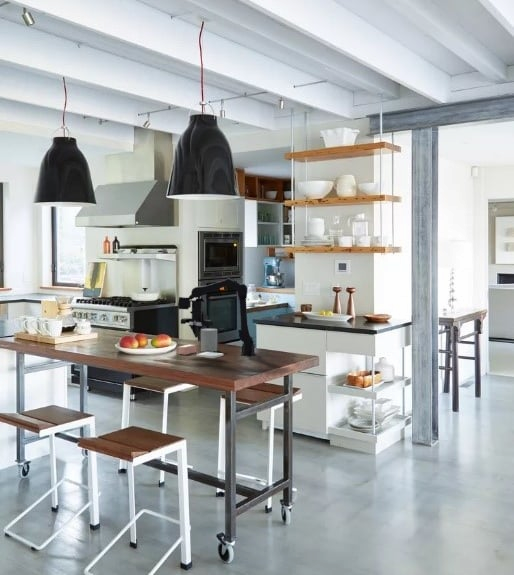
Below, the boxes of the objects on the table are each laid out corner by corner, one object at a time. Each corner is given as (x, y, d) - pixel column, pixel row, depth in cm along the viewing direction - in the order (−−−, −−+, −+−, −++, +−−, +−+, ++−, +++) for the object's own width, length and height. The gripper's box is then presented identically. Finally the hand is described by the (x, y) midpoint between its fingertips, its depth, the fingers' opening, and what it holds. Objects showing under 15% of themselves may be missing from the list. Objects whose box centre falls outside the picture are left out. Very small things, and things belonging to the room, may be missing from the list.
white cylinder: (209, 352, 365) (209, 331, 364) (197, 350, 371) (197, 329, 370) (220, 350, 373) (220, 329, 372) (208, 348, 378) (208, 327, 377)
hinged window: (223, 355, 354) (223, 353, 354) (212, 358, 346) (212, 355, 346) (207, 353, 360) (207, 351, 360) (196, 356, 351) (196, 353, 351)
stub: (195, 352, 364) (195, 344, 364) (184, 354, 356) (184, 347, 355) (189, 351, 367) (189, 344, 366) (178, 353, 358) (178, 346, 358)
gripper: (218, 309, 358) (218, 337, 359) (192, 307, 368) (191, 334, 369) (207, 311, 348) (206, 339, 349) (180, 308, 358) (179, 336, 359)
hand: (196, 337), depth 357 cm, fingers closed
